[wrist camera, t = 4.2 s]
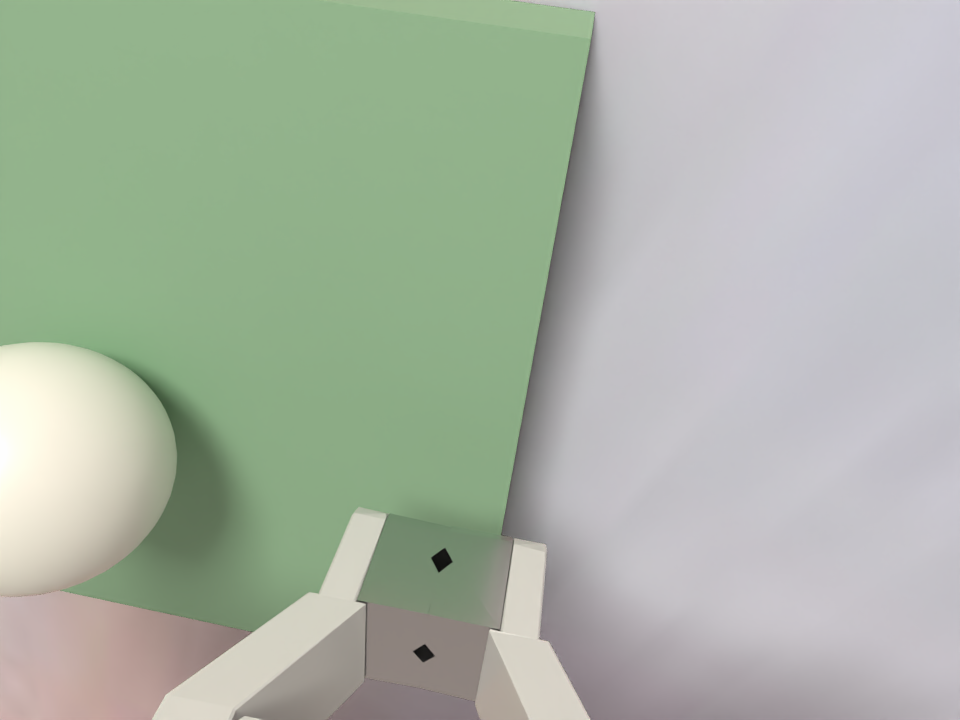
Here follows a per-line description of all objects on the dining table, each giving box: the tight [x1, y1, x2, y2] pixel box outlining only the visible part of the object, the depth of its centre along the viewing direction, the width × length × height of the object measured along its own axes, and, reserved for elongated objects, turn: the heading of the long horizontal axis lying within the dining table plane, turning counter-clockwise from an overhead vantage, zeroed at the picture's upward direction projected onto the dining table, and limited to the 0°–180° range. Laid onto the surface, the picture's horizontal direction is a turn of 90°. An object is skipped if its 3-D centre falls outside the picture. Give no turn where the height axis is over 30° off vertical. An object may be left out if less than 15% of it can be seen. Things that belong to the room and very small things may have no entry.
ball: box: [0, 342, 177, 597], centre depth 11 cm, size 4×4×4 cm
